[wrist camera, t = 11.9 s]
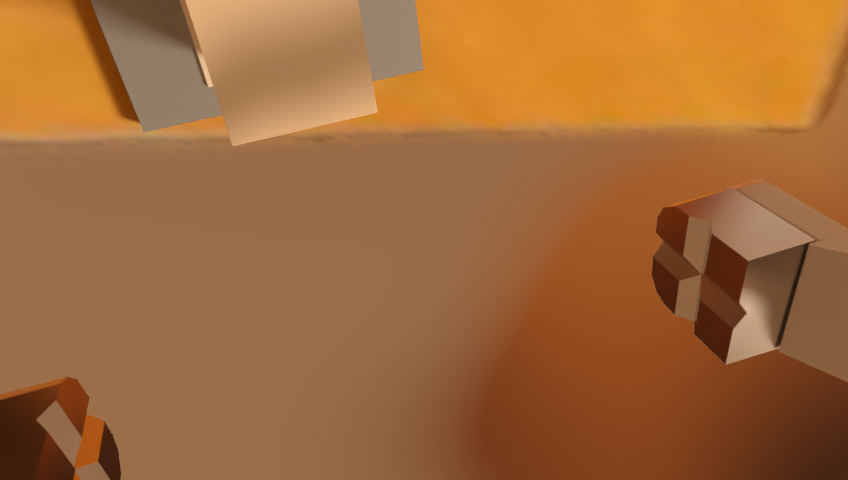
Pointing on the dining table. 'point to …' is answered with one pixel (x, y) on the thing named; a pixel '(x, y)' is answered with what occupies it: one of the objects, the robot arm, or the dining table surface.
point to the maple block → (284, 63)
